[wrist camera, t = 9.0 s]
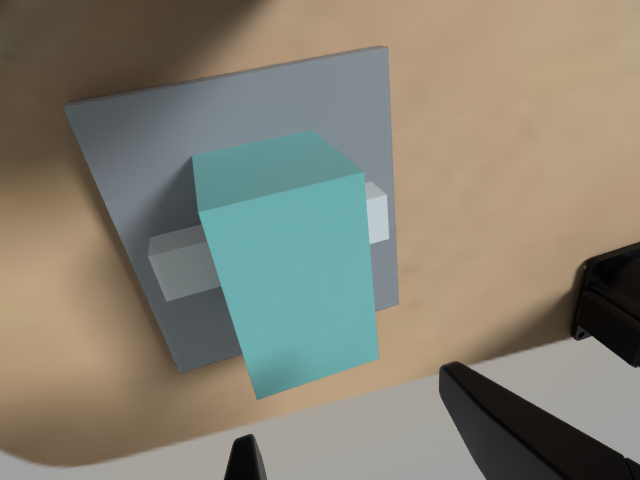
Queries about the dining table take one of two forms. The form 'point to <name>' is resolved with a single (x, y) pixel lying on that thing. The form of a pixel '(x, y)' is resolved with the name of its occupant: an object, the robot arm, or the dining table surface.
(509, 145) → the dining table surface
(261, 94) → the board
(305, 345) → the block
